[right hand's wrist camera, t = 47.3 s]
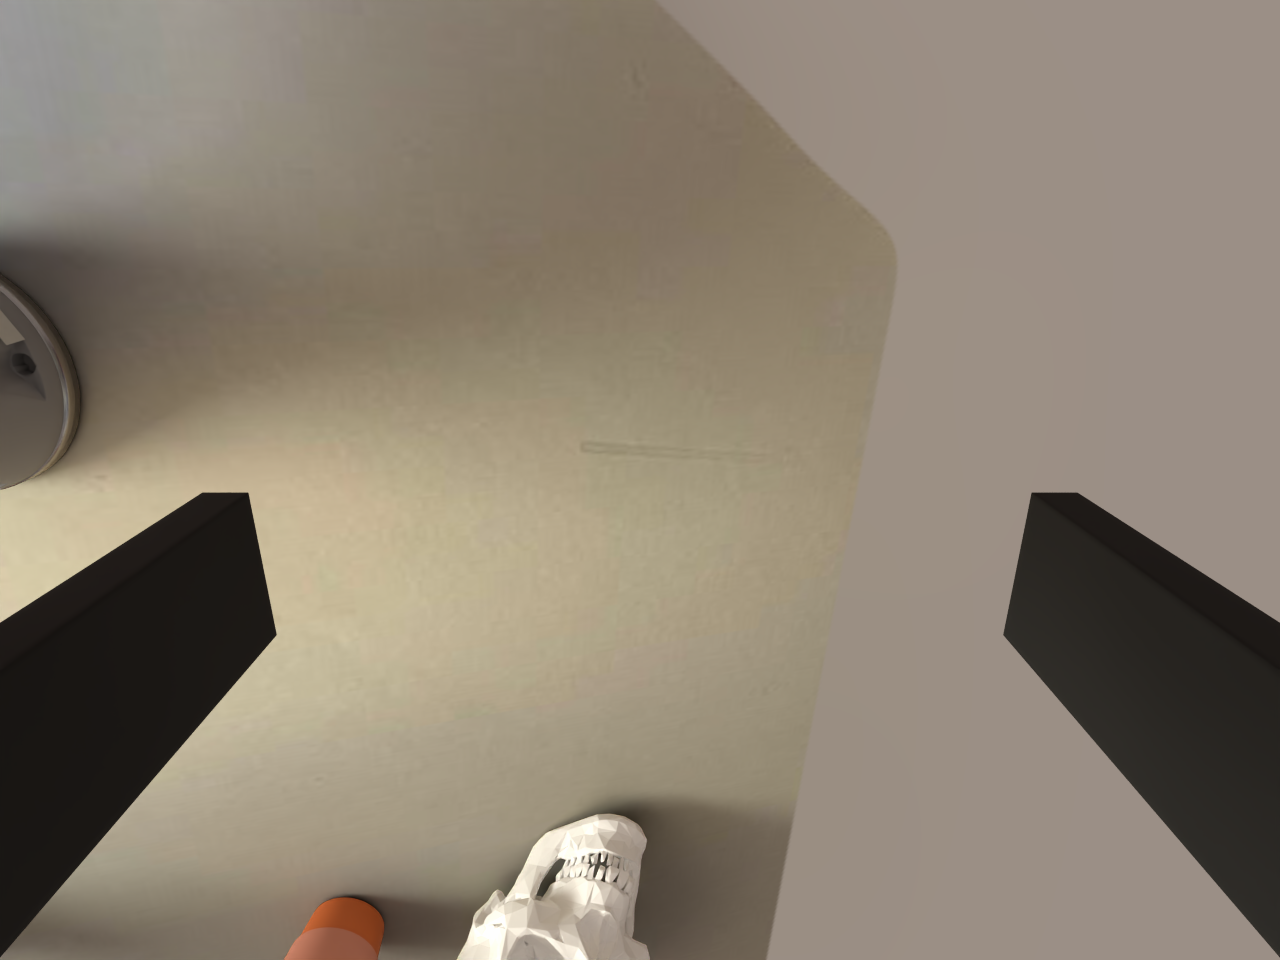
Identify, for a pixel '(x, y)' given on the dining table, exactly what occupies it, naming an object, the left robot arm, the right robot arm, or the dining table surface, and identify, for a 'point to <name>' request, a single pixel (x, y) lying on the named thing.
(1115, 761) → the right robot arm
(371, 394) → the dining table surface
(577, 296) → the dining table surface
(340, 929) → the cup with straw
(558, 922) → the skull
